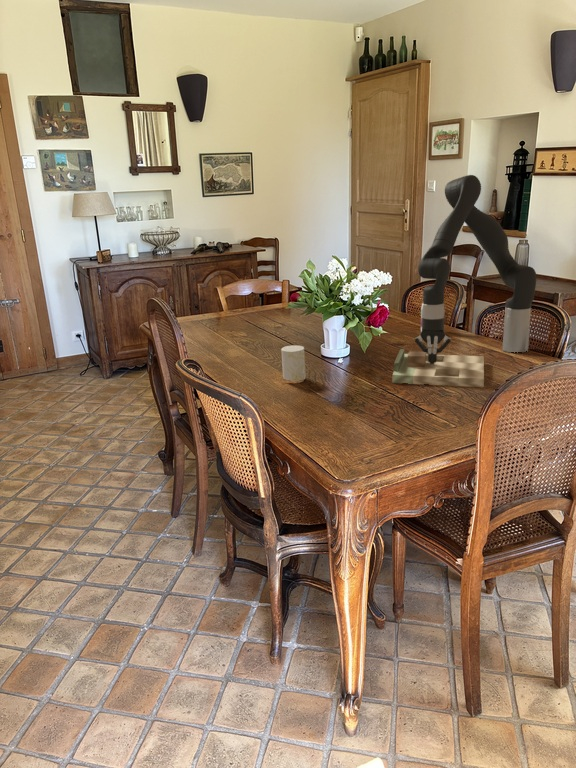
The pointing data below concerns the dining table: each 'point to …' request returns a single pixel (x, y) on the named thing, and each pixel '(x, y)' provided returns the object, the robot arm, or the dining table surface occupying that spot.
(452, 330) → the dining table surface
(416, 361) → the walnut block
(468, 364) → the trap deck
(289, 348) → the grey beige cylinder
